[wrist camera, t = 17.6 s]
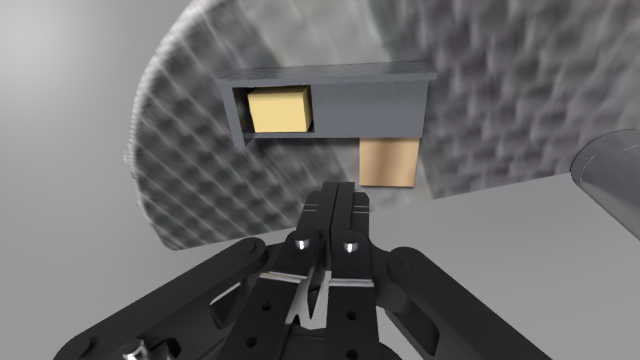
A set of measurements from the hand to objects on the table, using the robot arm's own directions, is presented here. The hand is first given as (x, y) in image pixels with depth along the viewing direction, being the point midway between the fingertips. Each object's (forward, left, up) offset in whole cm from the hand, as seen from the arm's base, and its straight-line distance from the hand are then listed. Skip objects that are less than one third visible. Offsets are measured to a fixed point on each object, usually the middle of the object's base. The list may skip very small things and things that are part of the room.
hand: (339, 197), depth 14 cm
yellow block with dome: (+7, +3, -25) cm, 26 cm away
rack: (+4, +3, -27) cm, 27 cm away
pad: (-4, +12, -27) cm, 30 cm away
